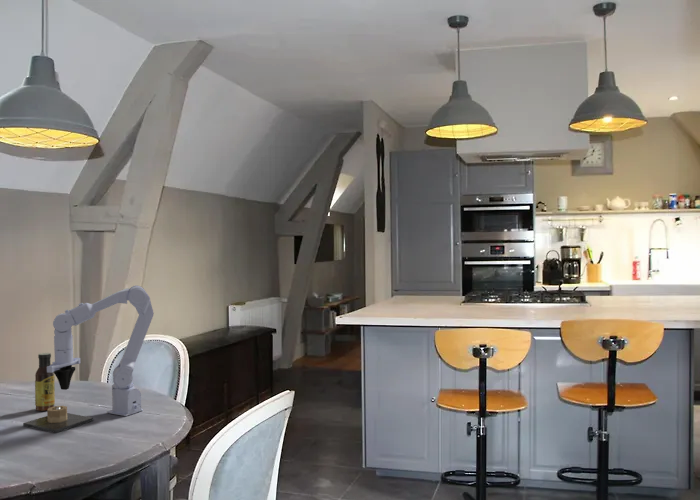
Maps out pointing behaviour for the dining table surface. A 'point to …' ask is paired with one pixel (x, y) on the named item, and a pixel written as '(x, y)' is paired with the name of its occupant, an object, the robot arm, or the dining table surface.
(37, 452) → the dining table surface
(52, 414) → the ring
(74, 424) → the hub
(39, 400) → the sauce bottle
